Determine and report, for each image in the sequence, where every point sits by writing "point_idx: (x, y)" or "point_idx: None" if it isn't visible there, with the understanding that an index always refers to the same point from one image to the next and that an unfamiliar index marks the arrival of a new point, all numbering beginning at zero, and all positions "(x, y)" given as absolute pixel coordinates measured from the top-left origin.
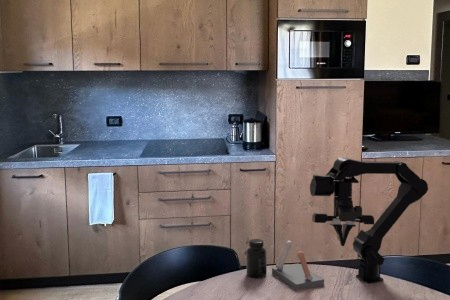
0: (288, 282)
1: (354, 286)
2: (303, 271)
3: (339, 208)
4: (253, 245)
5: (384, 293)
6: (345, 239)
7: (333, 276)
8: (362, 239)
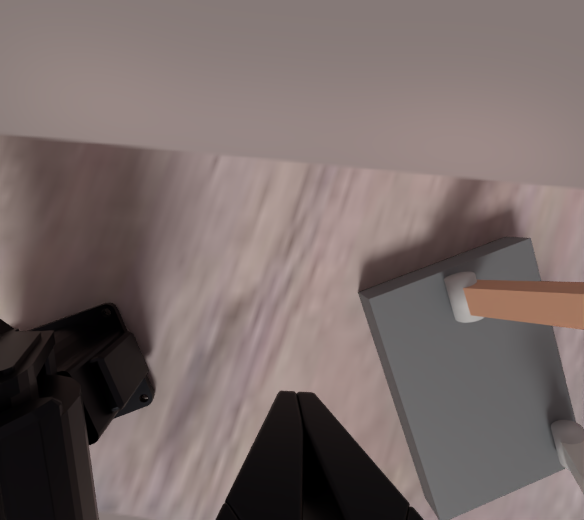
0: None
1: (205, 270)
2: (446, 409)
3: None
4: None
5: (65, 167)
6: (268, 448)
7: None
8: None
